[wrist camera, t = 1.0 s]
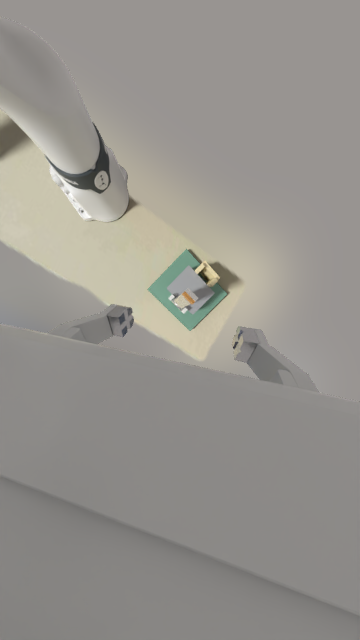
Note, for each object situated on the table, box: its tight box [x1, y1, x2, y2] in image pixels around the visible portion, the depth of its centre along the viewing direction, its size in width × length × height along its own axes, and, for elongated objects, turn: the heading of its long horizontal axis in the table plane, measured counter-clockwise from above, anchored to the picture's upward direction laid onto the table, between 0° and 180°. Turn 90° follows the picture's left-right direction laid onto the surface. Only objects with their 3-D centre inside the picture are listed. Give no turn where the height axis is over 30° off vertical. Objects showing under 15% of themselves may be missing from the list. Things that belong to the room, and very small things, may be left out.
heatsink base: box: [148, 249, 227, 331], centre depth 42 cm, size 20×18×10 cm
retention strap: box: [172, 288, 198, 310], centre depth 34 cm, size 4×13×2 cm
